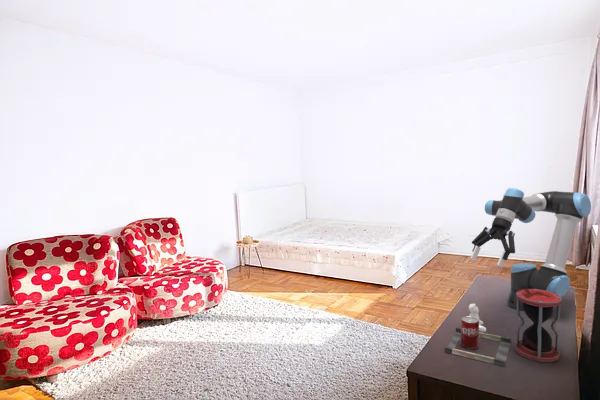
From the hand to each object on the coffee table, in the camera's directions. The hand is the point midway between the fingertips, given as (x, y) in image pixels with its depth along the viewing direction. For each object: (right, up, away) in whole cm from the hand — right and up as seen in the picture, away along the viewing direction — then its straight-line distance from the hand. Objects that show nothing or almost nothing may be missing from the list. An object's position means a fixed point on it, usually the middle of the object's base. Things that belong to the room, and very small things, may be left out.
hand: (485, 262), depth 173 cm
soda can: (-8, -36, -1) cm, 37 cm away
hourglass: (+17, -36, -9) cm, 41 cm away
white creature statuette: (+2, -34, +15) cm, 37 cm away
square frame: (-5, -36, -3) cm, 37 cm away
